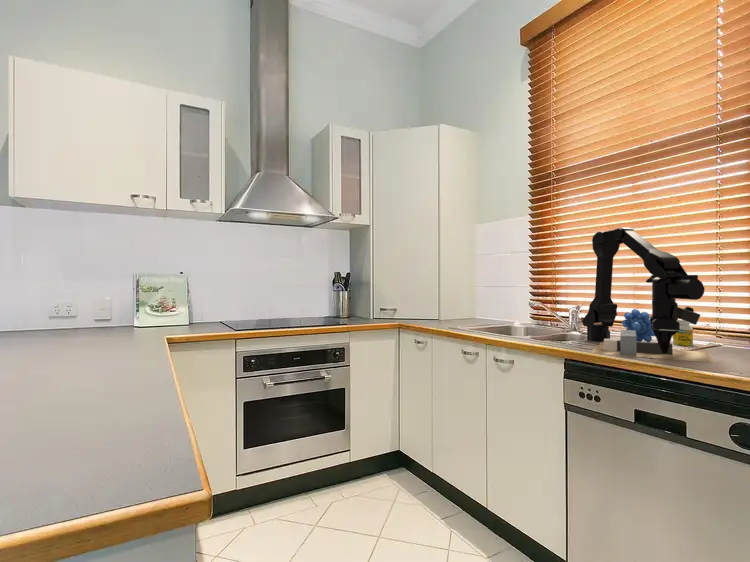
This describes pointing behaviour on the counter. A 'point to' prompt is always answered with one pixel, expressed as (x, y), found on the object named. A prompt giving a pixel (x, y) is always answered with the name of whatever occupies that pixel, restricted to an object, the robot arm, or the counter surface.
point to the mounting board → (663, 355)
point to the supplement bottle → (683, 334)
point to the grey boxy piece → (628, 342)
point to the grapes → (639, 325)
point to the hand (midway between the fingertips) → (663, 351)
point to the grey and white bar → (640, 346)
